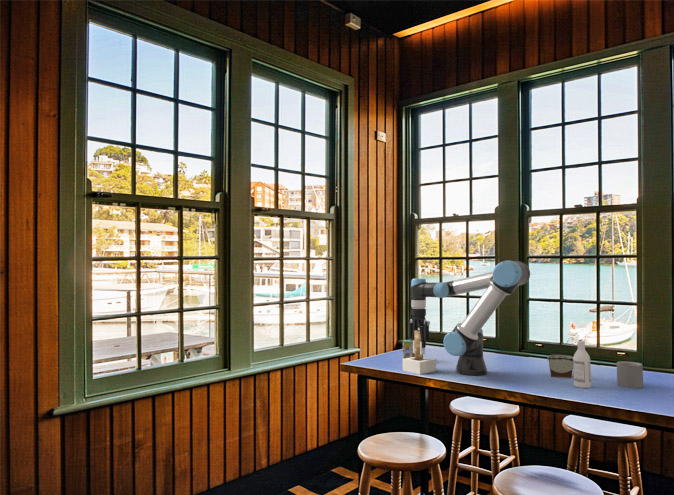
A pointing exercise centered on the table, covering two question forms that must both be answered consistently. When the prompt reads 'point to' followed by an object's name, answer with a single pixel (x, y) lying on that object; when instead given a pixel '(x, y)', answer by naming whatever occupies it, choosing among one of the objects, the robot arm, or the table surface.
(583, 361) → the bath foam
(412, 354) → the juice carton
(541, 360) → the table surface
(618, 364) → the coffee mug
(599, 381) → the table surface
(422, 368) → the socket block
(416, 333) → the oak peg
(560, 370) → the food container
